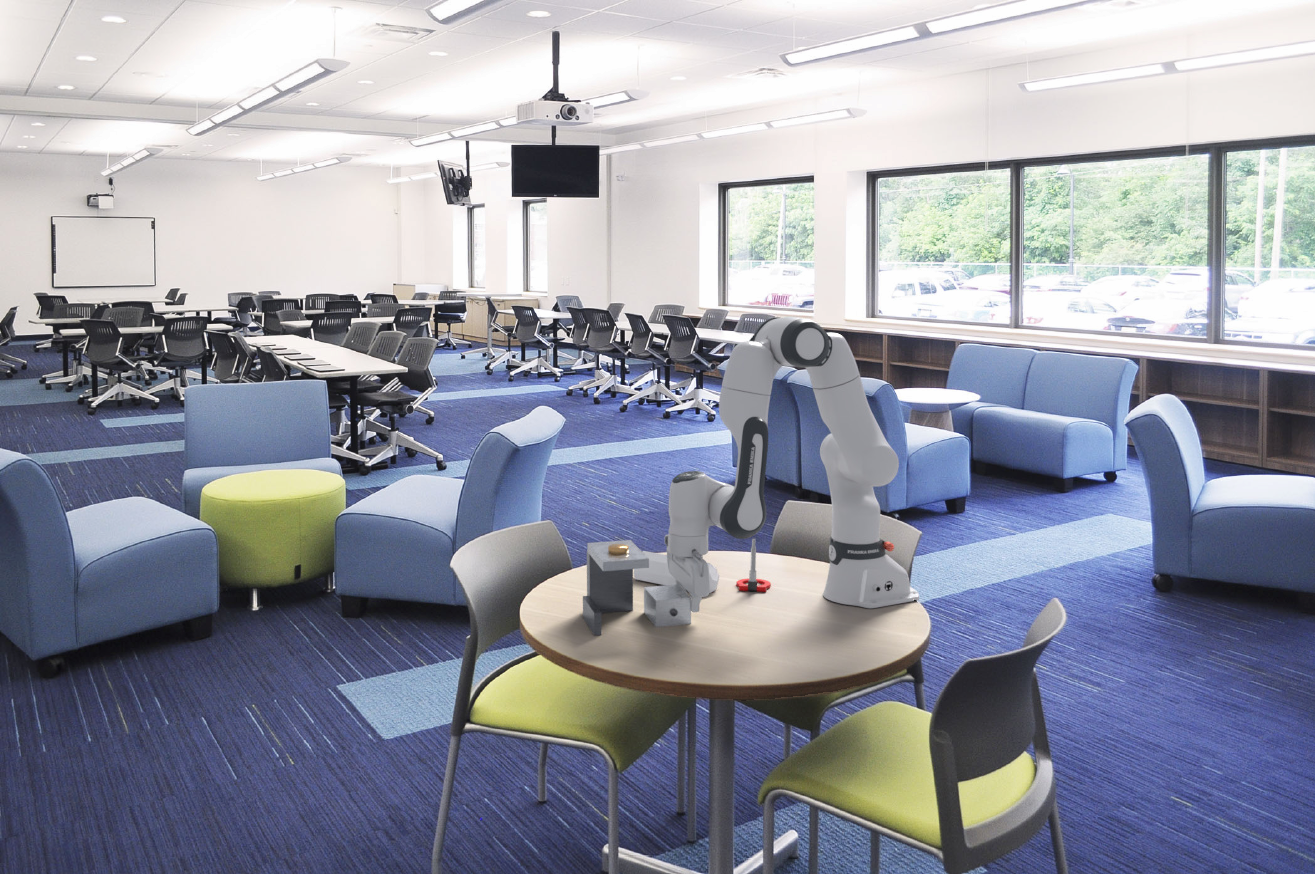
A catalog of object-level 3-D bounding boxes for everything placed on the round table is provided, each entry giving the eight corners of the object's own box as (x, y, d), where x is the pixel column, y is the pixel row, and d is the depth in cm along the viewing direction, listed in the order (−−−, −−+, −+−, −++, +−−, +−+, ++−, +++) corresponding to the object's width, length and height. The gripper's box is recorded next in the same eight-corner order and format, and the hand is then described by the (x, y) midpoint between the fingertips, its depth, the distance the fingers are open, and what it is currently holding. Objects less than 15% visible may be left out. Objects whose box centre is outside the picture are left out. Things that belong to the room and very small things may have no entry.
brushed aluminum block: (677, 609, 242) (677, 584, 241) (691, 624, 232) (691, 598, 231) (644, 612, 240) (644, 587, 239) (656, 627, 230) (656, 601, 229)
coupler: (629, 606, 244) (629, 533, 241) (648, 630, 228) (649, 553, 225) (578, 610, 241) (577, 537, 238) (594, 635, 225) (593, 557, 222)
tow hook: (737, 582, 265) (734, 591, 256) (738, 531, 263) (736, 539, 254) (771, 584, 263) (769, 593, 254) (772, 532, 262) (771, 540, 253)
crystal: (623, 566, 263) (705, 583, 250) (637, 547, 267) (719, 562, 254) (631, 588, 267) (713, 605, 254) (645, 568, 271) (726, 584, 258)
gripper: (717, 555, 226) (716, 618, 228) (688, 532, 245) (688, 590, 247) (688, 558, 224) (688, 620, 226) (662, 534, 243) (662, 592, 246)
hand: (688, 604), depth 237 cm, fingers open, 8 cm apart
